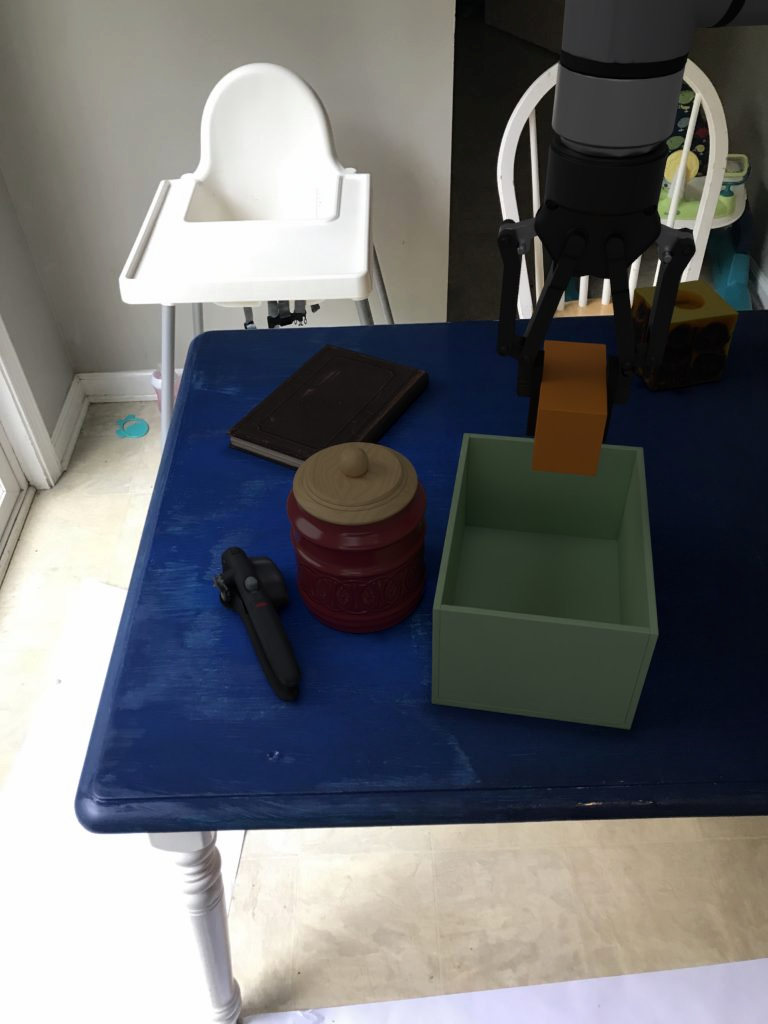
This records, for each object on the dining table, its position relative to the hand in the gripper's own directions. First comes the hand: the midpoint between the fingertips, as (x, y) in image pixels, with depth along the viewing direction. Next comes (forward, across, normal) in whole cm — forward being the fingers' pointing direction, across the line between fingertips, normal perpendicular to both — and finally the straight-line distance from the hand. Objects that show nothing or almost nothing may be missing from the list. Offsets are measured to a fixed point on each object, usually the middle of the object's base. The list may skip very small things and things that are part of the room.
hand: (566, 429), depth 69 cm
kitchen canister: (+21, +18, +1) cm, 28 cm away
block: (+1, 0, 0) cm, 1 cm away
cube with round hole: (+21, -15, -45) cm, 52 cm away
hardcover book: (+21, +28, -27) cm, 44 cm away
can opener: (+21, +26, +9) cm, 35 cm away
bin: (+21, 0, +2) cm, 21 cm away
